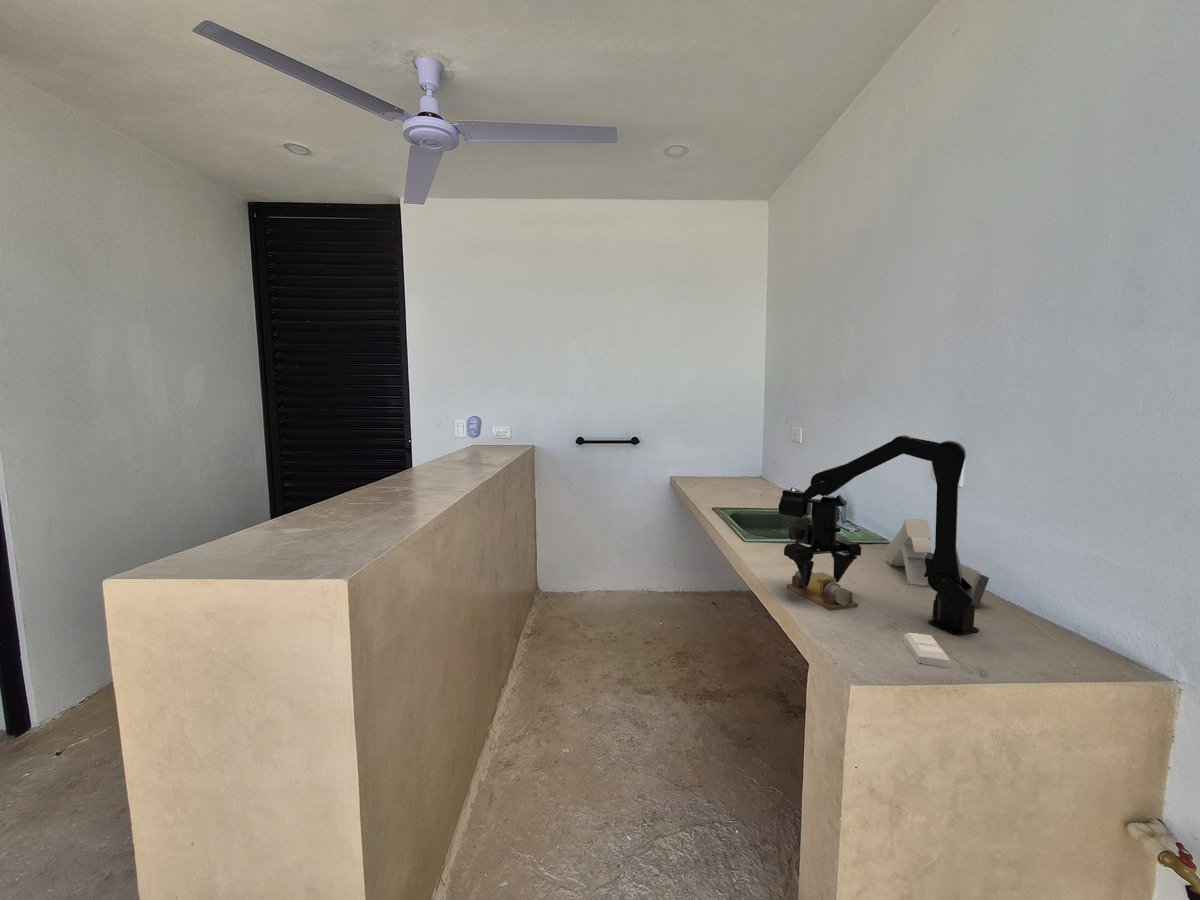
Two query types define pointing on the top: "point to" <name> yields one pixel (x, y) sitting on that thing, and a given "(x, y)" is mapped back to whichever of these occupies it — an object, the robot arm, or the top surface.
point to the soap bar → (926, 650)
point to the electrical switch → (975, 582)
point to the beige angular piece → (911, 550)
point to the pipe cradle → (824, 594)
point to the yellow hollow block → (819, 583)
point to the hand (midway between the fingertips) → (821, 583)
